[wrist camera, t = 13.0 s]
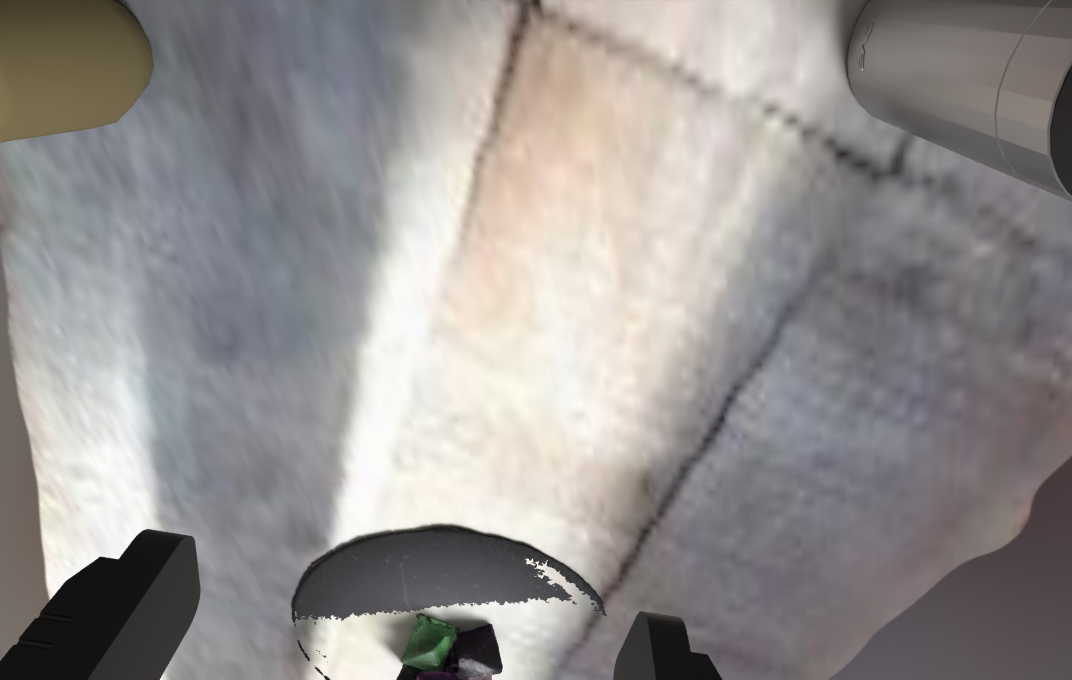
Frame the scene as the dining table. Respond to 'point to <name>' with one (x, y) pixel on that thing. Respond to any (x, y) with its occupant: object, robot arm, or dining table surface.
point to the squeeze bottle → (68, 65)
